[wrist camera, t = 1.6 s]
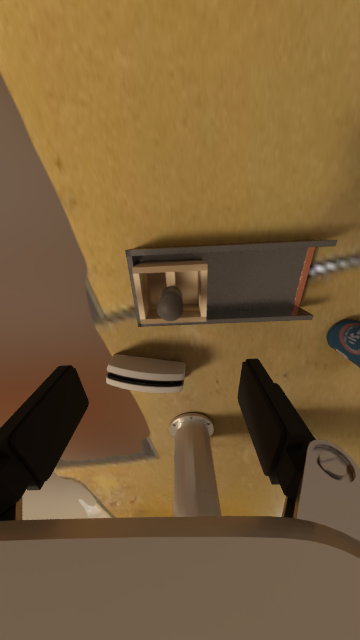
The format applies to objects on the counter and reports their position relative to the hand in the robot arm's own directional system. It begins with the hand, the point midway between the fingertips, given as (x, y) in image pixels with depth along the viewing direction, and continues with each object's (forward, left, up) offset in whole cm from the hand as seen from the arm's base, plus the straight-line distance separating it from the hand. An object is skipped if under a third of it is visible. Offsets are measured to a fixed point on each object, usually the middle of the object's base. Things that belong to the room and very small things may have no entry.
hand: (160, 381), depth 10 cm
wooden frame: (0, 0, -23) cm, 23 cm away
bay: (0, -9, -24) cm, 26 cm away
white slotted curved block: (-18, +7, -25) cm, 31 cm away
